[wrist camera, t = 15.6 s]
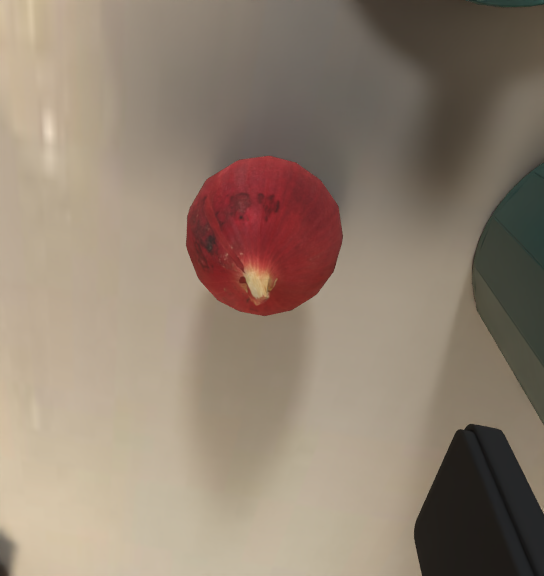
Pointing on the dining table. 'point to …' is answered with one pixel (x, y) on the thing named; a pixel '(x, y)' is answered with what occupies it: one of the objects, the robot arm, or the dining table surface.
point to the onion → (263, 235)
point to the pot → (516, 282)
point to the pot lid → (508, 3)
